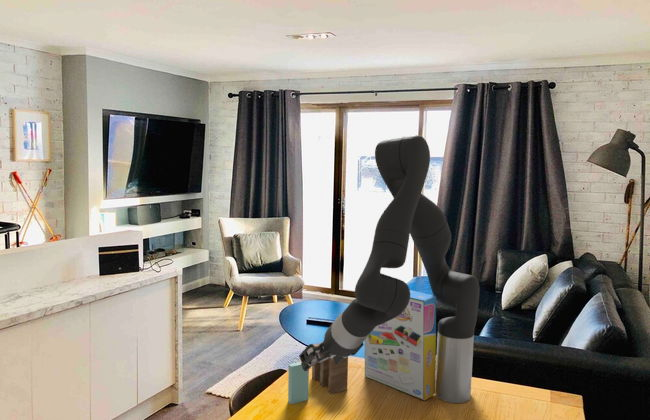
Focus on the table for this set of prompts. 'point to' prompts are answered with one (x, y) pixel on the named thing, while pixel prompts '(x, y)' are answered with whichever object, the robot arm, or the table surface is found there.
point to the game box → (405, 348)
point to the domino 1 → (316, 367)
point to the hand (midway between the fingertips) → (320, 363)
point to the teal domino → (297, 383)
